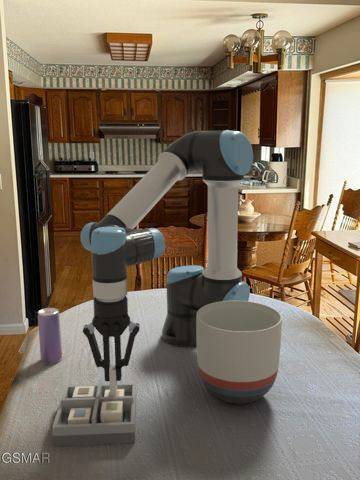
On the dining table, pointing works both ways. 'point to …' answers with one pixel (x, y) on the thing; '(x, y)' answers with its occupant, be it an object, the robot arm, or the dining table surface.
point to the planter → (238, 349)
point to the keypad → (95, 417)
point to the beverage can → (49, 335)
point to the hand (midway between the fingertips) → (113, 392)
